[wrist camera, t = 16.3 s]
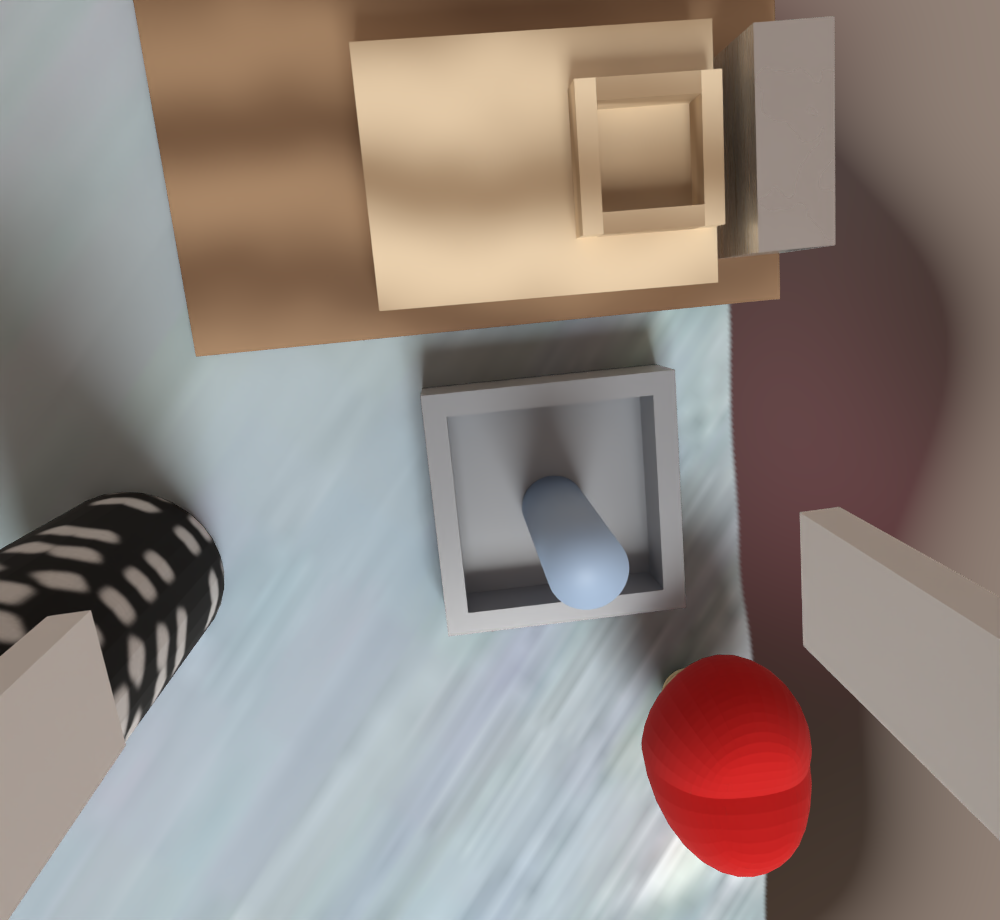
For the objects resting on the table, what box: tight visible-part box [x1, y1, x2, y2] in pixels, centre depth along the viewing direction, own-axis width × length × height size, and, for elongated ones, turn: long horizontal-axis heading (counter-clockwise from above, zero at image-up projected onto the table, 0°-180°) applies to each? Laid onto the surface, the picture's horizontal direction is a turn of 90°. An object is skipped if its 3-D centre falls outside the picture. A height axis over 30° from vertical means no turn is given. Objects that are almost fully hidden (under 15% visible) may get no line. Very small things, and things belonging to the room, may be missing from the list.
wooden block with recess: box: [349, 18, 725, 311], centre depth 31 cm, size 10×14×4 cm
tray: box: [420, 364, 686, 636], centre depth 35 cm, size 11×11×3 cm
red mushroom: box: [642, 655, 812, 877], centre depth 35 cm, size 9×7×10 cm
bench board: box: [133, 0, 780, 357], centre depth 33 cm, size 16×26×1 cm, turn 95°
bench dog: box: [713, 16, 835, 259], centre depth 31 cm, size 8×3×5 cm, turn 5°
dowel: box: [522, 476, 629, 610], centre depth 32 cm, size 3×3×9 cm
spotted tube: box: [0, 492, 224, 742], centre depth 27 cm, size 8×8×20 cm
